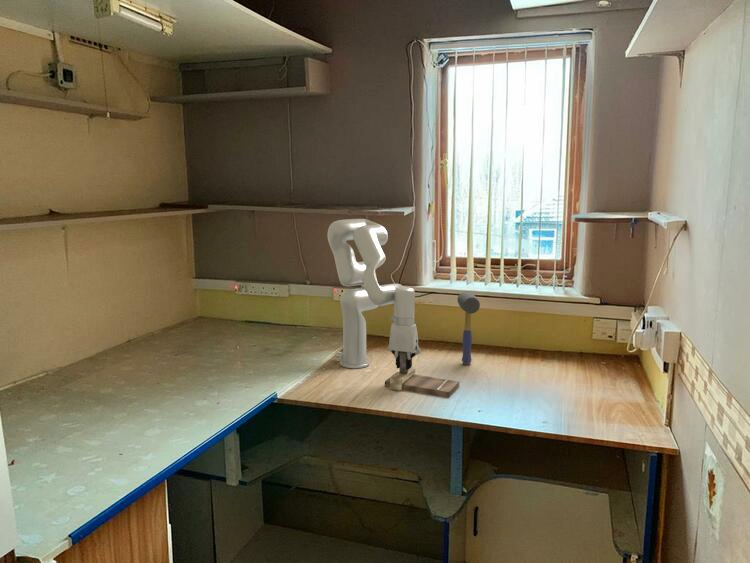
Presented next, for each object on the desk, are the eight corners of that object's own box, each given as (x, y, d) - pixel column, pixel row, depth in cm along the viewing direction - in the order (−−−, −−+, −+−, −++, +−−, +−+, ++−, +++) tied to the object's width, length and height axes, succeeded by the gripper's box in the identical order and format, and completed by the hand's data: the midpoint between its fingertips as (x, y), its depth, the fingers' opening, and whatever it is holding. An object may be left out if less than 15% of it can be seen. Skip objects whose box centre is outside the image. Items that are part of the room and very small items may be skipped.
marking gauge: (390, 388, 210) (390, 357, 207) (405, 376, 223) (406, 346, 221) (400, 390, 208) (400, 358, 206) (415, 377, 221) (415, 347, 219)
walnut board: (384, 386, 213) (384, 381, 212) (397, 376, 224) (397, 371, 223) (449, 397, 202) (449, 391, 202) (459, 386, 213) (459, 381, 213)
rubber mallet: (479, 368, 233) (481, 296, 227) (460, 369, 232) (462, 296, 227) (471, 359, 245) (474, 290, 240) (454, 359, 245) (456, 290, 239)
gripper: (379, 320, 212) (379, 368, 215) (421, 325, 205) (420, 374, 208) (388, 316, 218) (387, 362, 222) (428, 320, 211) (427, 368, 215)
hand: (403, 367), depth 215 cm, fingers closed on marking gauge, 3 cm apart
